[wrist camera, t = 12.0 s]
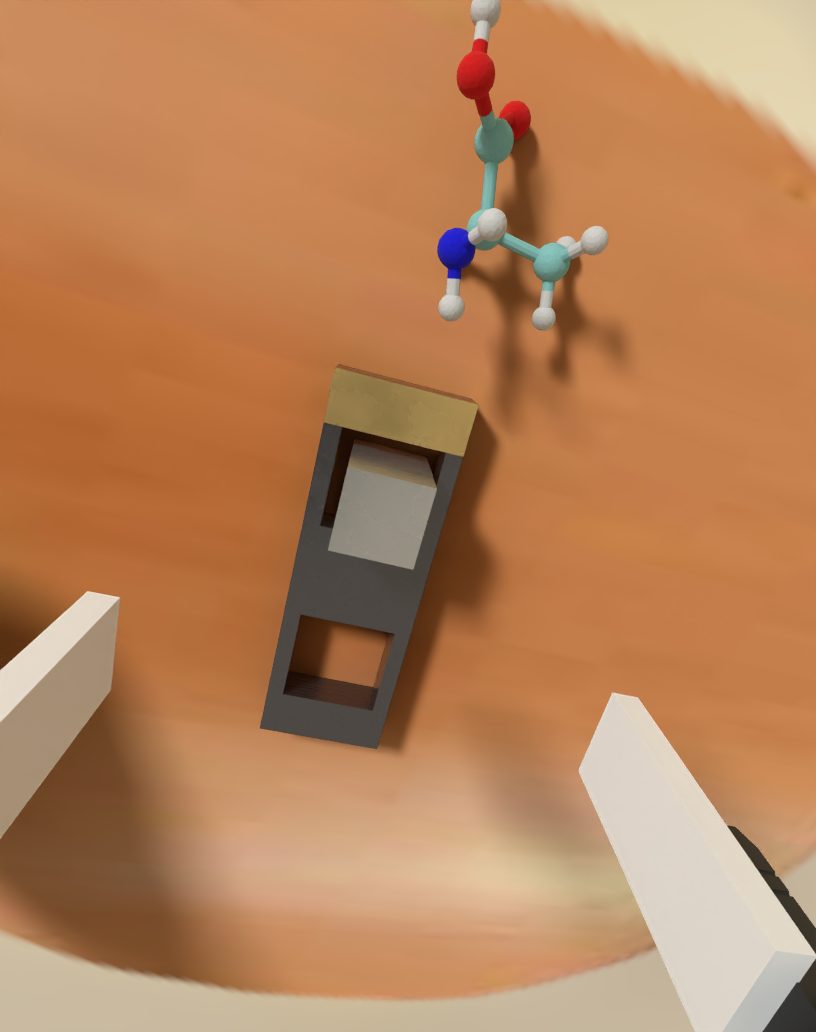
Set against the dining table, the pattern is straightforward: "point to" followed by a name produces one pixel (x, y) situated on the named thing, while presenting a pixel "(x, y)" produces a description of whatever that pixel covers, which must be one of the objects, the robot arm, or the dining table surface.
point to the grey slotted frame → (362, 559)
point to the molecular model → (489, 221)
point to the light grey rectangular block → (383, 505)
